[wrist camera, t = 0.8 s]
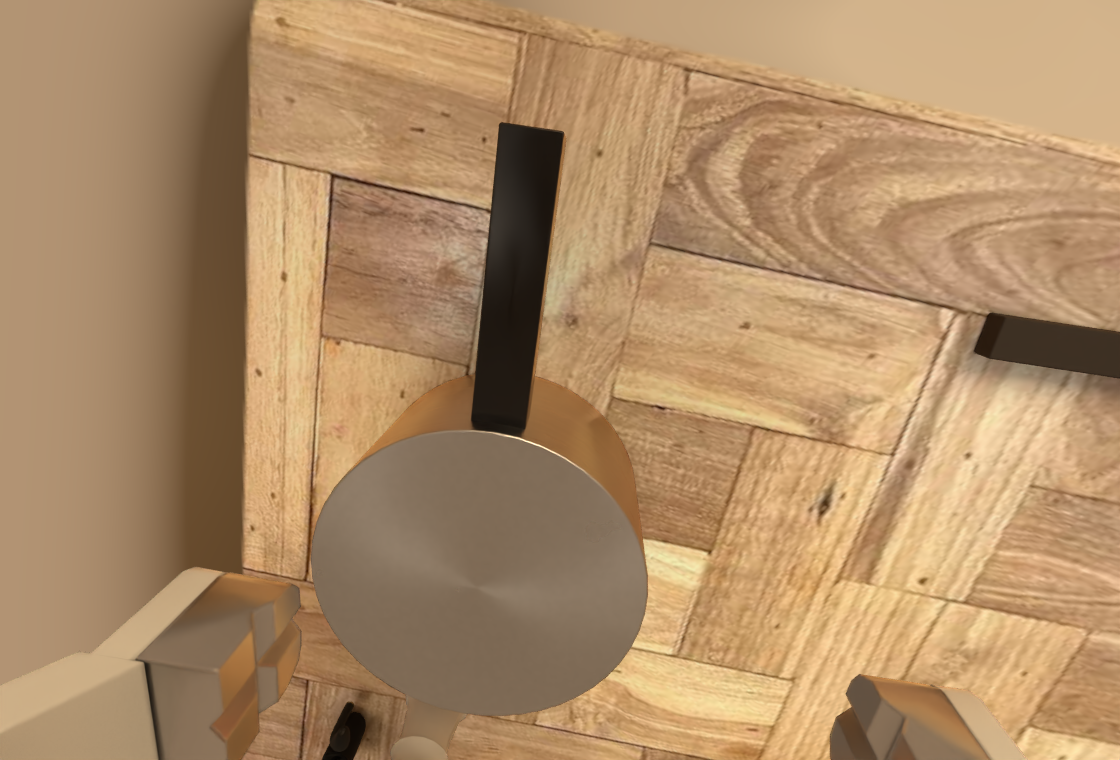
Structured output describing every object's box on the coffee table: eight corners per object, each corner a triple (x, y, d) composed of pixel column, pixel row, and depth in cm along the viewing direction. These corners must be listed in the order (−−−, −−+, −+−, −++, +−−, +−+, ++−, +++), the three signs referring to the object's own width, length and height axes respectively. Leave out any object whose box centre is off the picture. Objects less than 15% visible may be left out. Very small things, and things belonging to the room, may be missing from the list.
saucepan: (394, 124, 22) (307, 90, 16) (706, 170, 22) (753, 155, 15) (375, 579, 29) (310, 688, 23) (611, 618, 29) (615, 740, 23)
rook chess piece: (478, 629, 30) (438, 773, 22) (495, 691, 31) (462, 847, 24) (402, 636, 31) (337, 779, 23) (422, 697, 32) (367, 851, 24)
